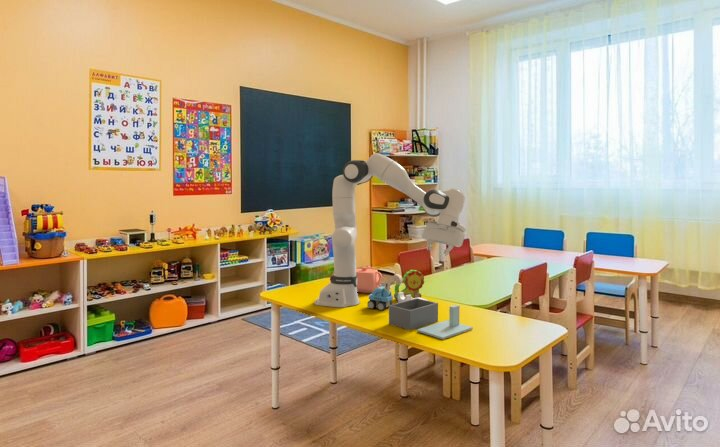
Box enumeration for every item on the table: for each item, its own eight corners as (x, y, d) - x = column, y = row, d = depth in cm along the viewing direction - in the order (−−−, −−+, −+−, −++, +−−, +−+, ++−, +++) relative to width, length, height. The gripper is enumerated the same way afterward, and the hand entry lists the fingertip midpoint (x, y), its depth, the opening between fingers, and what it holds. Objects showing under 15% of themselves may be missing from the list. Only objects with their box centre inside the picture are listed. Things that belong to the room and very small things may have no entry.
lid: (417, 332, 182) (417, 309, 181) (447, 323, 194) (447, 301, 193) (442, 341, 172) (443, 316, 171) (472, 330, 184) (472, 307, 183)
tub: (388, 323, 193) (388, 305, 192) (416, 315, 205) (416, 298, 204) (410, 330, 184) (410, 310, 183) (437, 321, 196) (438, 303, 195)
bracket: (406, 311, 213) (406, 295, 212) (397, 308, 219) (397, 292, 218) (428, 307, 219) (428, 292, 219) (419, 304, 225) (419, 289, 225)
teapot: (386, 287, 263) (386, 263, 262) (379, 295, 244) (379, 269, 243) (353, 285, 268) (353, 262, 267) (343, 293, 249) (343, 268, 248)
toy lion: (397, 301, 229) (397, 272, 228) (393, 299, 235) (393, 270, 233) (425, 299, 234) (425, 270, 233) (421, 296, 240) (421, 268, 238)
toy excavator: (396, 313, 209) (396, 276, 207) (365, 308, 218) (365, 273, 216) (404, 309, 216) (404, 273, 215) (374, 304, 225) (374, 270, 223)
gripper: (425, 217, 211) (415, 245, 209) (462, 224, 196) (452, 254, 194) (432, 222, 215) (422, 249, 213) (469, 229, 201) (459, 258, 199)
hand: (437, 252), depth 204 cm, fingers open, 8 cm apart
